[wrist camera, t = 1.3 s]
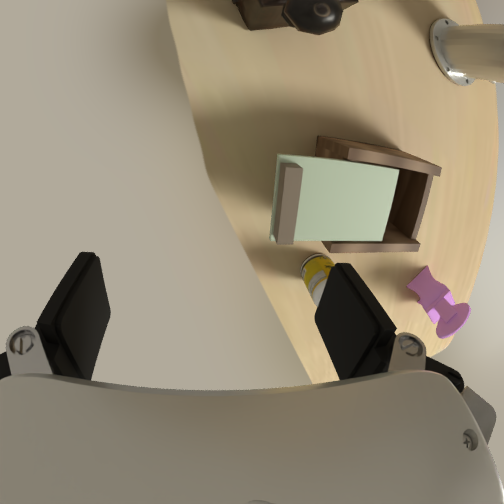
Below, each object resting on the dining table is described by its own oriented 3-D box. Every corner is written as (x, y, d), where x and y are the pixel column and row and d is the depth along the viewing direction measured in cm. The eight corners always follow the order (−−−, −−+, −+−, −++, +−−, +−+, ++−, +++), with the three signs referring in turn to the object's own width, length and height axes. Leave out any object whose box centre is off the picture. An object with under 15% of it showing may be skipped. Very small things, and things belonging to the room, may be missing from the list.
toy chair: (414, 306, 52) (449, 353, 39) (402, 289, 48) (441, 341, 36) (440, 281, 50) (478, 325, 37) (430, 261, 46) (475, 308, 33)
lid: (395, 168, 26) (409, 175, 24) (379, 238, 31) (390, 249, 29) (277, 153, 24) (284, 159, 22) (269, 237, 29) (274, 250, 27)
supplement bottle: (337, 265, 43) (363, 304, 34) (312, 286, 44) (333, 328, 36) (319, 245, 40) (344, 285, 32) (292, 269, 42) (311, 312, 33)
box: (401, 151, 34) (441, 167, 26) (385, 223, 40) (417, 251, 32) (317, 135, 32) (349, 147, 24) (306, 220, 38) (329, 253, 30)
